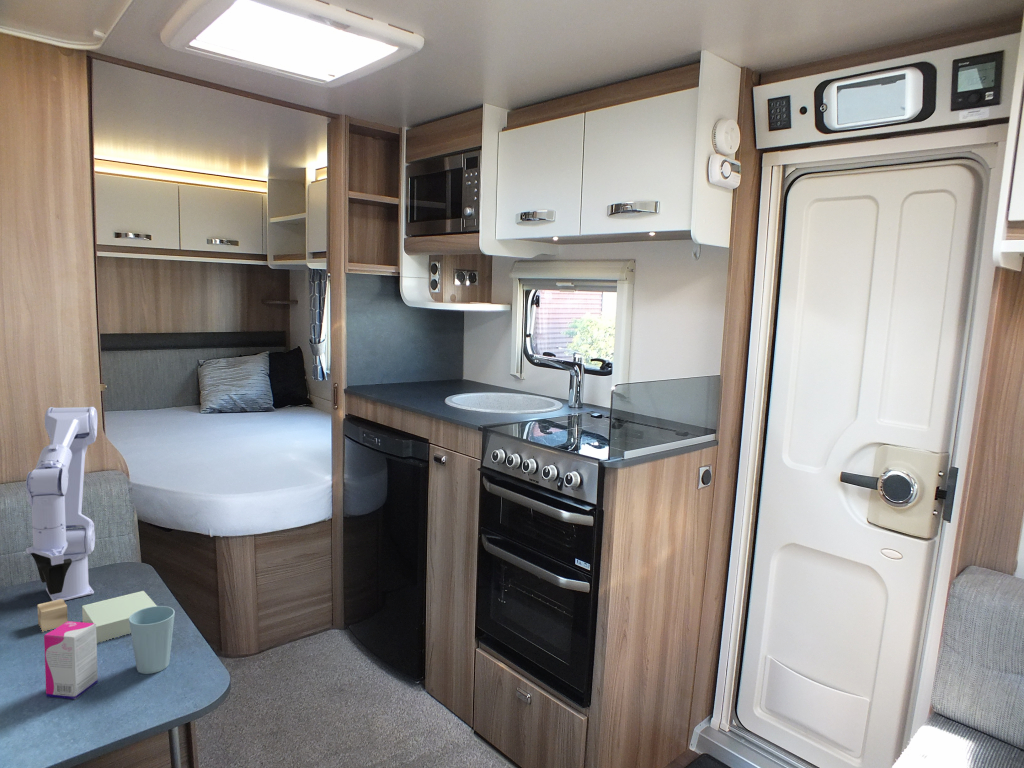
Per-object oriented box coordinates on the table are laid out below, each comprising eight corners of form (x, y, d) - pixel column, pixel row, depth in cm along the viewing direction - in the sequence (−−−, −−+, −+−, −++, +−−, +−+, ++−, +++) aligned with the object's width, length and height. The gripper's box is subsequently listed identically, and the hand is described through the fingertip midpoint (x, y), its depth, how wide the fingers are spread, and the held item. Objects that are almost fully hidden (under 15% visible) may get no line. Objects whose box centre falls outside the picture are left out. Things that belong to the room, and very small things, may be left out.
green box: (82, 623, 143) (82, 605, 143) (143, 607, 151) (143, 590, 151) (96, 645, 135) (95, 626, 134) (160, 627, 143) (160, 609, 142)
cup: (158, 679, 123) (157, 626, 122) (120, 675, 124) (119, 622, 123) (183, 658, 131) (183, 607, 129) (147, 654, 132) (146, 604, 130)
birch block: (38, 624, 141) (37, 604, 141) (63, 618, 144) (62, 598, 144) (42, 632, 138) (41, 612, 137) (67, 626, 141) (67, 606, 140)
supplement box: (99, 681, 122) (97, 622, 120) (75, 700, 116) (72, 638, 114) (70, 678, 122) (67, 619, 121) (44, 697, 116) (41, 635, 115)
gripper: (19, 519, 141) (22, 580, 142) (32, 538, 130) (35, 604, 132) (58, 513, 146) (61, 572, 147) (74, 531, 135) (76, 594, 137)
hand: (51, 587), depth 140 cm, fingers open, 7 cm apart
